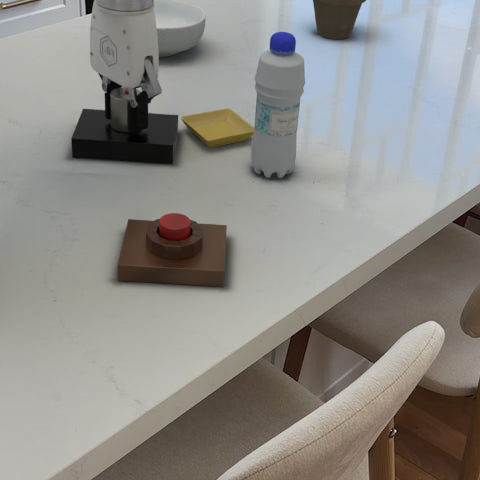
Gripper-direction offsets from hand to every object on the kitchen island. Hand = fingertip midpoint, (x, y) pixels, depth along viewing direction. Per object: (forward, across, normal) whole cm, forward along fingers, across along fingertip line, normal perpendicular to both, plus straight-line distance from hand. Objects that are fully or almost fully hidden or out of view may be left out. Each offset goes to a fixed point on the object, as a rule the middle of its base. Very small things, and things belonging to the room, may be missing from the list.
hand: (126, 122), depth 126 cm
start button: (0, +27, -13) cm, 30 cm away
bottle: (+4, +18, +12) cm, 22 cm away
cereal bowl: (+4, -28, +28) cm, 39 cm away
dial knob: (+1, 0, 0) cm, 1 cm away
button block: (+4, +27, -14) cm, 31 cm away
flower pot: (+4, -16, +62) cm, 64 cm away
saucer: (+4, +5, +13) cm, 14 cm away
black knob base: (+4, 0, 0) cm, 4 cm away
